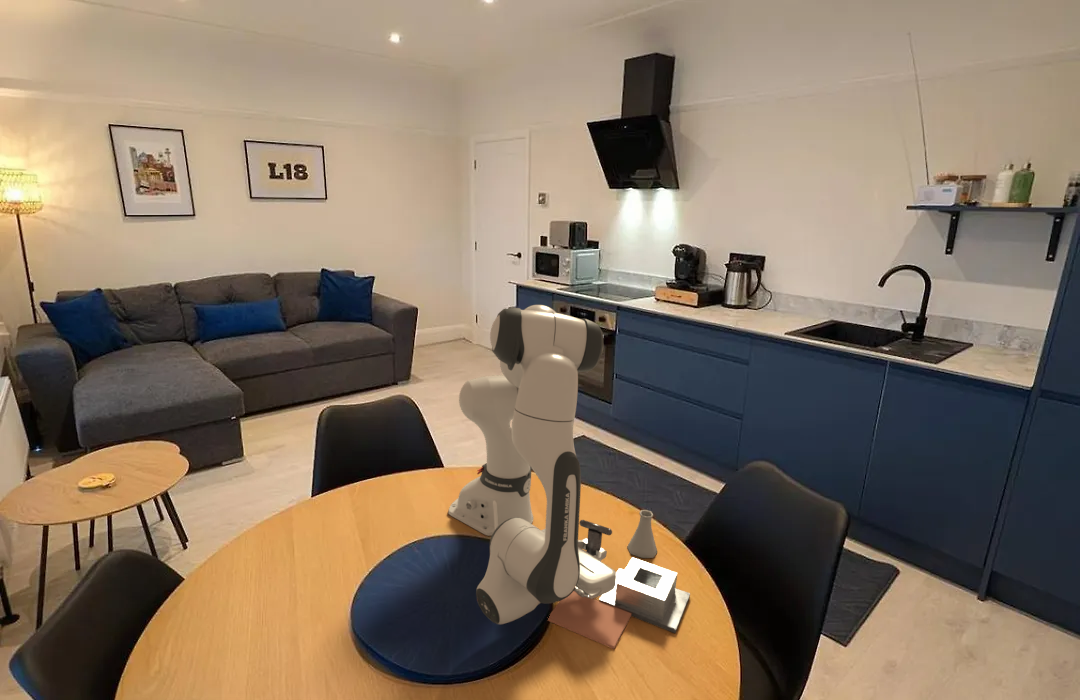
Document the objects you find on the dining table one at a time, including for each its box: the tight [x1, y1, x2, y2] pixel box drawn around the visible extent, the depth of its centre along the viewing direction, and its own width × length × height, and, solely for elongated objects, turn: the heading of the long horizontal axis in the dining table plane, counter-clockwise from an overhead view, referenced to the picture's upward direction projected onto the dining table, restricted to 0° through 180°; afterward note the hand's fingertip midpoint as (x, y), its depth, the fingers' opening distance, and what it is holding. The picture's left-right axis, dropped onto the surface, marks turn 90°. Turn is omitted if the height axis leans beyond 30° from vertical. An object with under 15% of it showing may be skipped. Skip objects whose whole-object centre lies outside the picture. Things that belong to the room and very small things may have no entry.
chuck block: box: [598, 556, 691, 634], centre depth 115 cm, size 16×12×6 cm
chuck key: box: [579, 519, 613, 556], centre depth 118 cm, size 7×3×14 cm, turn 62°
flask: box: [627, 509, 658, 559], centre depth 131 cm, size 7×7×10 cm
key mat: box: [547, 591, 632, 650], centre depth 109 cm, size 14×10×1 cm
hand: (596, 547), depth 118 cm, fingers closed on chuck key, 3 cm apart
